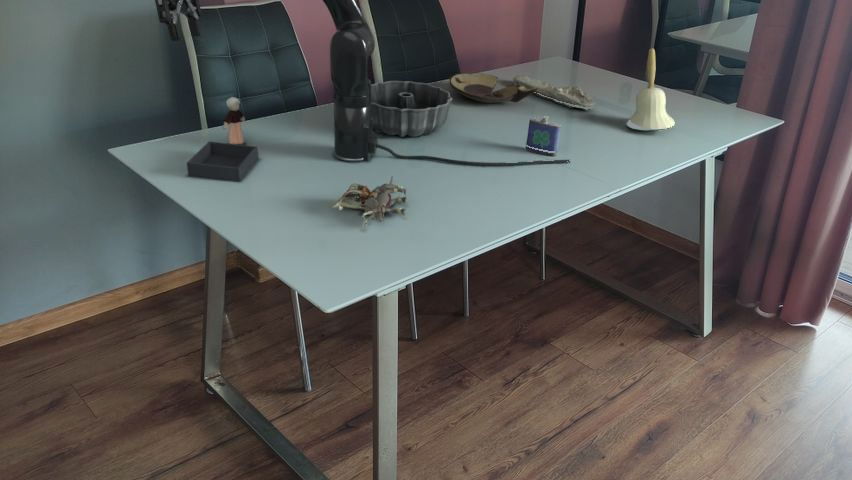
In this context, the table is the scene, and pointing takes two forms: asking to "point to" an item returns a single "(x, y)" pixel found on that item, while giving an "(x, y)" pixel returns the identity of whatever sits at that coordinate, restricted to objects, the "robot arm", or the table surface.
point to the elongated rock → (556, 91)
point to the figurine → (372, 200)
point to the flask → (543, 136)
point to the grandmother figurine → (234, 122)
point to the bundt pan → (408, 108)
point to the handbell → (651, 102)
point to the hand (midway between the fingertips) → (186, 38)
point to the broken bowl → (487, 88)
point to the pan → (223, 161)
